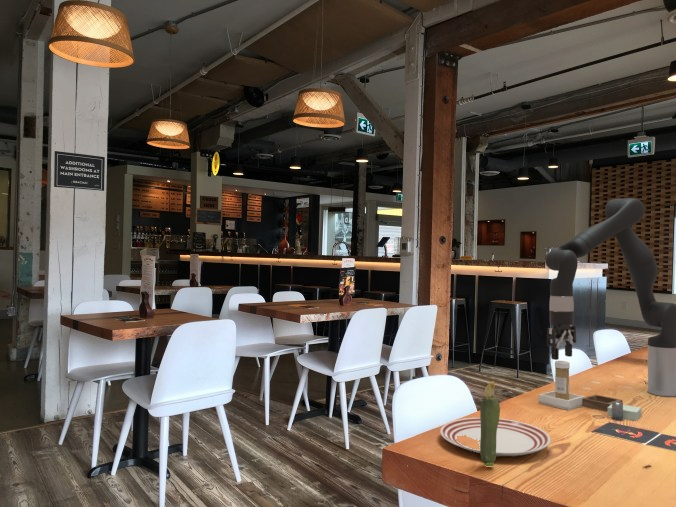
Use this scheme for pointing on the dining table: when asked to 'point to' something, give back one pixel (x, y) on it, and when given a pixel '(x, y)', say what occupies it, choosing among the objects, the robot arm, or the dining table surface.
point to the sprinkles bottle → (562, 379)
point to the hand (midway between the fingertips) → (561, 357)
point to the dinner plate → (499, 436)
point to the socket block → (598, 402)
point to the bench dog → (617, 410)
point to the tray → (561, 400)
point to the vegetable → (489, 425)
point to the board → (628, 412)
